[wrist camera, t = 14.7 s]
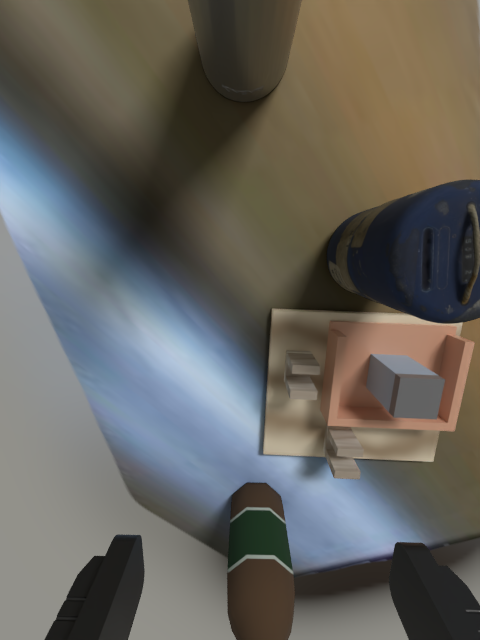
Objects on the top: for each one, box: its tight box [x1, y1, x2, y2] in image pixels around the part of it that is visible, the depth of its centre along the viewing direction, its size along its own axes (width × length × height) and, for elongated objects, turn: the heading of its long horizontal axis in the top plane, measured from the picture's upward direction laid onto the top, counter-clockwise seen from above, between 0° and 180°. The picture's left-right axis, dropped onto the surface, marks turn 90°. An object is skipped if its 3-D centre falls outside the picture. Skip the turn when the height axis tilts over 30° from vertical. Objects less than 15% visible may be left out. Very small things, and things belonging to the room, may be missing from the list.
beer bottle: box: [227, 483, 295, 640], centre depth 31 cm, size 8×8×24 cm
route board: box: [263, 308, 463, 479], centre depth 36 cm, size 20×23×6 cm
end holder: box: [320, 321, 475, 431], centre depth 35 cm, size 12×15×4 cm
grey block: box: [366, 354, 445, 420], centre depth 33 cm, size 4×4×7 cm
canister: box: [327, 180, 480, 324], centre depth 26 cm, size 10×10×18 cm
